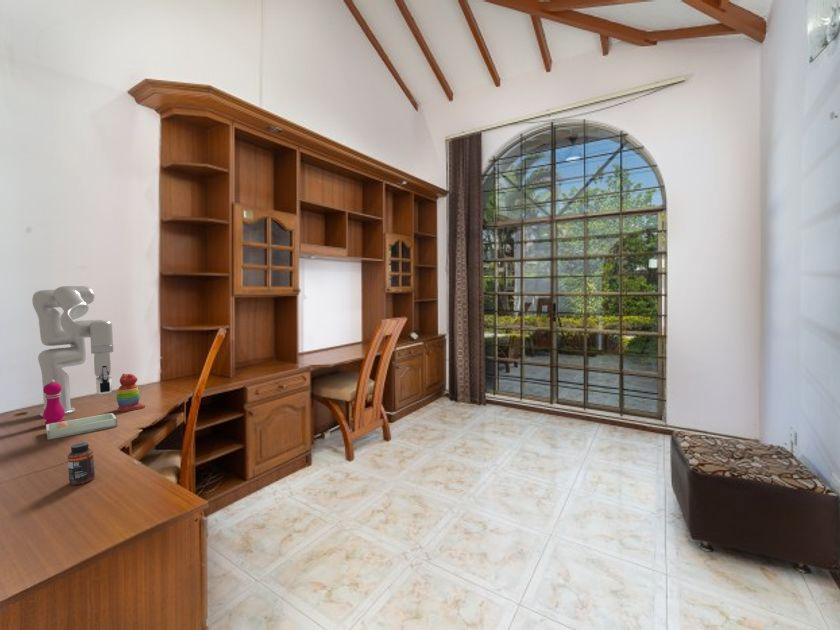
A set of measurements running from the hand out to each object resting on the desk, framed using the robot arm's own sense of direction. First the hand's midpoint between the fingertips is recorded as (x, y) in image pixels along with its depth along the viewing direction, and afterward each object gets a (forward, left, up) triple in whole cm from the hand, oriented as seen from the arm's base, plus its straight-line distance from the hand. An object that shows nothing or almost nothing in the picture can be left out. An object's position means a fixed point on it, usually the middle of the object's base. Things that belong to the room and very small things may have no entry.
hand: (104, 390), depth 174 cm
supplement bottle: (+63, -13, -16) cm, 66 cm away
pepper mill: (-19, -16, -16) cm, 29 cm away
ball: (-3, -14, -13) cm, 19 cm away
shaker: (0, 0, -1) cm, 1 cm away
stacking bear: (-24, +12, -16) cm, 31 cm away
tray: (0, -8, -15) cm, 17 cm away
